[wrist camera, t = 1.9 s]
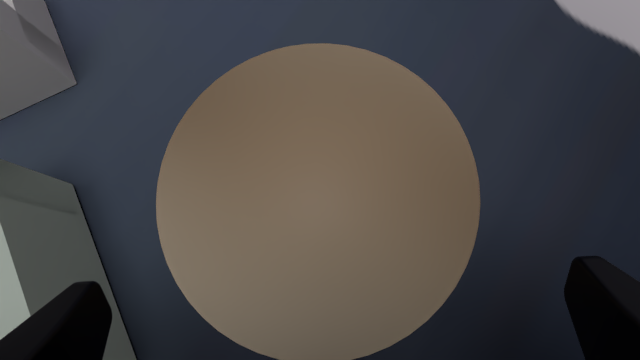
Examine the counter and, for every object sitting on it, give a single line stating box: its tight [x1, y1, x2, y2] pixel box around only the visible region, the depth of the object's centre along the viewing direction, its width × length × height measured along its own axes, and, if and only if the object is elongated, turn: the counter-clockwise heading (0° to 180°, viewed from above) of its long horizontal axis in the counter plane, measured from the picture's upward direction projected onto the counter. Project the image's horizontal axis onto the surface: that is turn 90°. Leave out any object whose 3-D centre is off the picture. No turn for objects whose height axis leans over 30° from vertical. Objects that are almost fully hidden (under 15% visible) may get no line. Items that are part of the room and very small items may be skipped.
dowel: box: [156, 43, 480, 360], centre depth 12 cm, size 4×4×12 cm
